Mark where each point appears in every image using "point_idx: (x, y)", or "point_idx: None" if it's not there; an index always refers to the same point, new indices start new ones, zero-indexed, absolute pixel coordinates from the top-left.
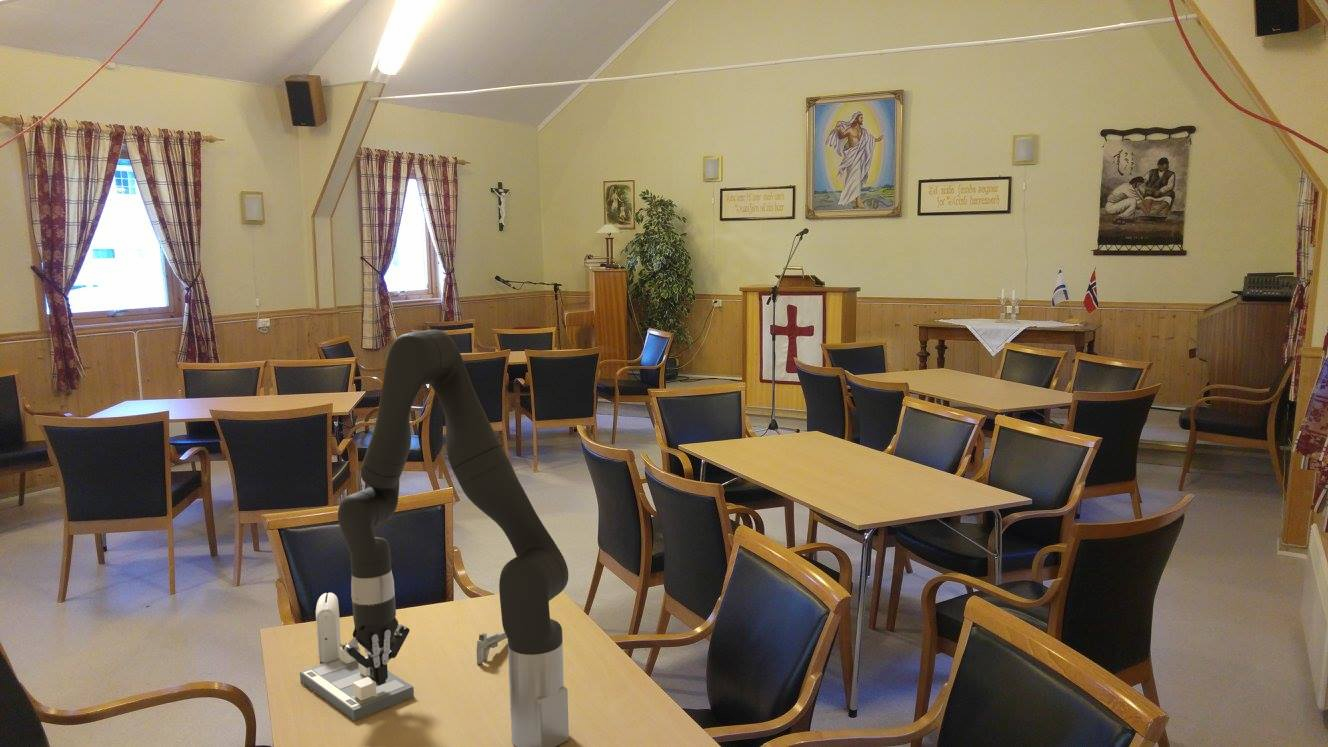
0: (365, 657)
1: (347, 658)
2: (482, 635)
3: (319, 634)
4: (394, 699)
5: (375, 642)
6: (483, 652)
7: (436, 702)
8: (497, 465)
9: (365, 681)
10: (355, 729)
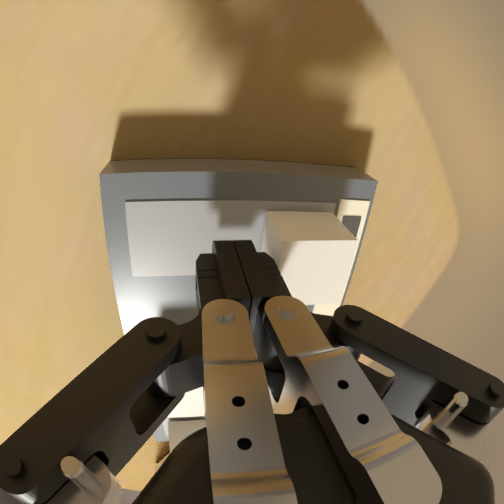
0: (187, 415)
1: None
2: None
3: None
4: (198, 164)
5: (382, 447)
6: None
7: (75, 53)
8: None
9: (307, 277)
10: (387, 119)
